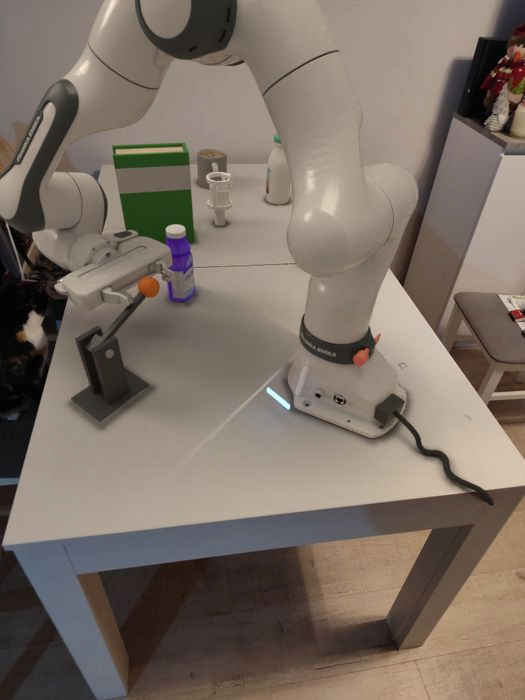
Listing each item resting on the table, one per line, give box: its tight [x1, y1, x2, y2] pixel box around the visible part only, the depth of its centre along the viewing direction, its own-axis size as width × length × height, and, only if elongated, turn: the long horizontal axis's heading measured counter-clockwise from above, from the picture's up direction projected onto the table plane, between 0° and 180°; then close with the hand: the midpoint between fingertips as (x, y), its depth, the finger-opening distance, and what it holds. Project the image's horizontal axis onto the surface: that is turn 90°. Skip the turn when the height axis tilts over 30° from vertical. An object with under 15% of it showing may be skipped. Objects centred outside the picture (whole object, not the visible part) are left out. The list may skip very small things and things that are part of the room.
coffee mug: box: [196, 147, 228, 189], centre depth 150 cm, size 13×10×10 cm
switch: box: [85, 276, 161, 353], centre depth 74 cm, size 16×4×4 cm, turn 143°
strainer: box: [206, 172, 233, 227], centre depth 127 cm, size 7×7×15 cm
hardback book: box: [111, 142, 195, 244], centre depth 115 cm, size 18×7×24 cm, turn 105°
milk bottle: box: [265, 133, 291, 205], centre depth 139 cm, size 8×8×20 cm
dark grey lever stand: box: [70, 325, 150, 423], centre depth 76 cm, size 11×8×14 cm
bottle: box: [165, 224, 196, 303], centre depth 98 cm, size 7×6×17 cm
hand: (151, 288), depth 76 cm, fingers open, 8 cm apart
